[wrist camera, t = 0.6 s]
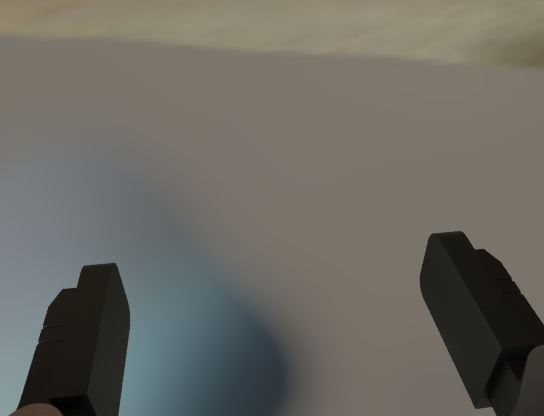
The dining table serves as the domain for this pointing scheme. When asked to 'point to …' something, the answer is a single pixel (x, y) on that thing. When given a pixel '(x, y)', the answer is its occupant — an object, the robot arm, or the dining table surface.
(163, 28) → the dining table surface
